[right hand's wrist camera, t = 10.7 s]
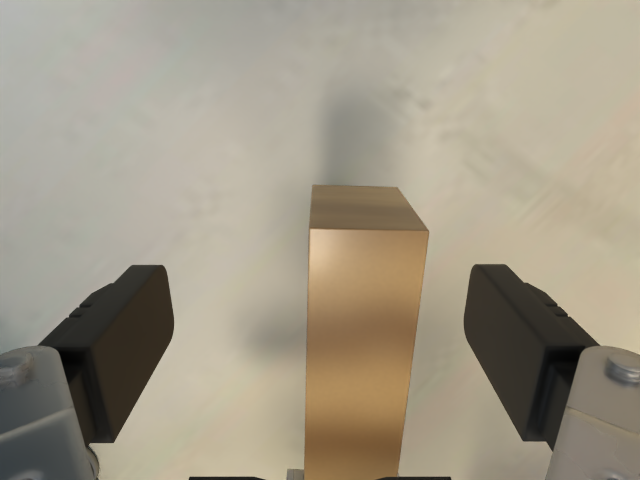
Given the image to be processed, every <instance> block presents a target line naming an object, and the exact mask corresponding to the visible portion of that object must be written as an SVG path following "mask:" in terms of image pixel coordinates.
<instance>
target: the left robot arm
mask: <svg viewBox="0 0 640 480" xmlns="http://www.w3.org/2000/svg"><path fill="white" fill-rule="evenodd" d="M397 477H399V474H398V475H397ZM287 480H304V470H301V469H288V470H287Z"/></svg>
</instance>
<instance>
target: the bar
mask: <svg viewBox="0 0 640 480" xmlns="http://www.w3.org/2000/svg"><path fill="white" fill-rule="evenodd" d="M428 237H429V230H428V229H427V228H426V226H425V225H424V223H423V222H422V221H421V219H420V218H419V216H418V215H417V214H416V212H415V211H414V210H413V208H412V207H411V205H410V204H409V203H408V201H407V200H406V198H405V197H404V196H403V194H402V193H401V191H400V190H399V189H398V187H374V186H338V185H312V196H311V209H310V221H309V250H308V301H307V353H306V405H305V456H304V480H376V479H380V478H383V477H397V475H398V468H399V460H400V452H401V444H402V437H403V429H404V421H405V414H406V406H407V398H408V391H409V383H410V375H411V368H412V360H413V352H414V344H415V337H416V329H417V321H418V314H419V306H420V298H421V291H422V283H423V275H424V267H425V260H426V252H427V244H428Z"/></svg>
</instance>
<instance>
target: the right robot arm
mask: <svg viewBox="0 0 640 480" xmlns="http://www.w3.org/2000/svg"><path fill="white" fill-rule="evenodd" d="M173 330H174V315H173V309H172V302H171V296H170V289H169V282H168V276H167V272H166V269H165V267H164V266H163V265H132V266H130V267H129V268H128V269H127V270H126V271H125V272H124V273H123V274H122V275H121V276H120V277H119V278H118V279H117V280H116V281H115V282H114V283H110V284H108V285H107V286H105V287H103V288H101V289H99V290H97V291H95V292H93V293H92V294H91V295H90V296H89V297H88V298H86V299H85V300H84V301H83V302H82V303H81V304H80V307H79V308H76V309H75V310H74V311H73V312H72V313H71V314H70V315H69V318H66V319H65V320H63V321H62V322H61V323H60V324H59V325H58V326H57V327H56V328H55V329H54V330H53V331H52V332H51V333H50V334H49V335H48V336H47V337H46V338H45V339H44V340H43V341H42V342H40V343H39V344H38V345H37V346H30V347H24V348H19V349H16V350H12V351H9V352H6V353H4V354H1V355H0V480H97V479H96V478H97V476H98V472H99V466H98V462H97V460H96V458H95V456H94V455H93V453H92V452H91V451H90V450H89V449H88V448H87V447H88V445H89V444H90V443H114V441H115V439H116V438H117V436H118V434H119V432H120V431H121V429H122V427H123V425H124V423H125V422H126V420H127V418H128V416H129V415H130V413H131V411H132V409H133V407H134V406H135V404H136V402H137V400H138V398H139V397H140V395H141V393H142V391H143V390H144V388H145V386H146V384H147V382H148V381H149V379H150V377H151V375H152V374H153V372H154V370H155V368H156V366H157V365H158V363H159V361H160V359H161V357H162V356H163V354H164V352H165V350H166V349H167V347H168V345H169V343H170V341H171V339H172V335H173ZM464 331H465V335H466V339H467V341H468V343H469V345H470V347H471V348H472V350H473V352H474V354H475V356H476V357H477V359H478V361H479V363H480V365H481V366H482V368H483V370H484V372H485V374H486V375H487V377H488V379H489V381H490V383H491V384H492V386H493V388H494V390H495V392H496V393H497V395H498V397H499V399H500V401H501V402H502V404H503V406H504V408H505V410H506V411H507V413H508V415H509V417H510V419H511V420H512V422H513V424H514V426H515V428H516V430H517V431H518V433H519V435H520V437H521V439H522V440H523V441H546V442H547V443H548V445H549V447H550V448H551V450H552V451H553V454H552V458H551V461H550V465H549V468H548V472H547V475H546V479H545V480H640V355H639V354H636V353H634V352H631V351H628V350H624V349H621V348H616V347H610V346H600V345H599V344H598V343H597V342H596V341H595V340H594V339H593V338H592V337H591V336H590V335H589V334H588V333H587V332H586V331H585V330H584V329H582V328H581V327H580V326H579V325H578V324H577V323H576V322H575V321H574V320H573V319H572V318H571V317H568V314H567V313H566V312H565V311H564V310H563V309H562V308H561V307H558V306H557V303H556V302H555V301H554V300H552V299H551V298H550V297H549V296H548V295H547V294H546V293H545V292H543V291H541V290H540V289H538V288H536V287H534V286H532V285H530V284H528V283H524V282H523V281H522V280H521V279H520V278H519V277H518V276H517V275H516V274H515V273H514V272H513V271H512V270H511V269H510V268H509V267H508V266H507V265H505V264H476V265H474V266H473V268H472V270H471V274H470V280H469V286H468V293H467V300H466V307H465V313H464ZM189 480H264V479H260V478H257V477H189ZM376 480H451V477H383V478H380V479H376Z"/></svg>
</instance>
